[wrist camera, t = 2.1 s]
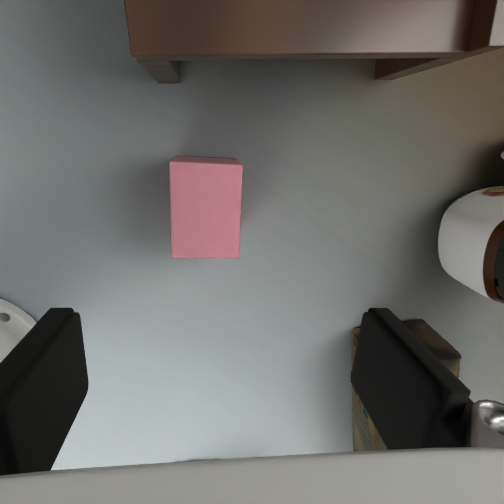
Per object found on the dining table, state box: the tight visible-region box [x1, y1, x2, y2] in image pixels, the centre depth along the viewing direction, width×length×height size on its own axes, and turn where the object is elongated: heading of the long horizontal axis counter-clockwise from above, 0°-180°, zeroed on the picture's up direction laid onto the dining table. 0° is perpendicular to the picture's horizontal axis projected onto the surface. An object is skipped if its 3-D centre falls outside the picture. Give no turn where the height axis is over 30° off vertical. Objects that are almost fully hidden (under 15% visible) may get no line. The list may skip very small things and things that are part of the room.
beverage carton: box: [352, 319, 461, 452], centre depth 34 cm, size 8×19×7 cm, turn 6°
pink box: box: [169, 156, 243, 258], centre depth 24 cm, size 5×6×6 cm
